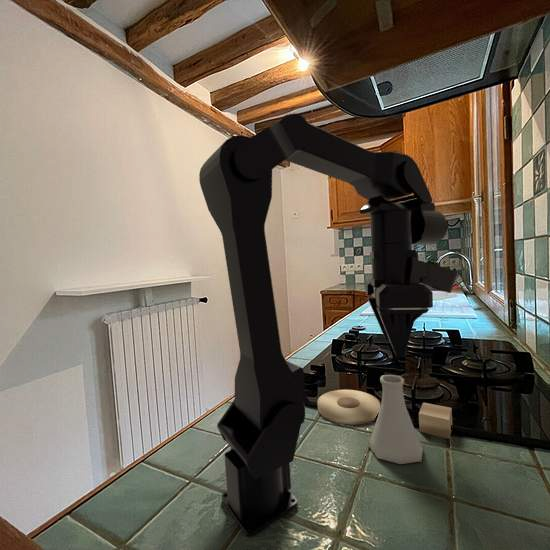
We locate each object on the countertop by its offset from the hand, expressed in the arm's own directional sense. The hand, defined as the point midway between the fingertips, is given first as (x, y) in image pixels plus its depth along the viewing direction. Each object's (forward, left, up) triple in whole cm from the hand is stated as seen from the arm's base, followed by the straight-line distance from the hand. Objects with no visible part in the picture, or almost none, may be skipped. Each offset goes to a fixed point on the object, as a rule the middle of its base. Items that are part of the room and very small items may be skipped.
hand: (394, 347), depth 46 cm
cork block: (+5, -3, -13) cm, 14 cm away
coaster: (0, +10, -13) cm, 16 cm away
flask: (-4, -2, -13) cm, 14 cm away
